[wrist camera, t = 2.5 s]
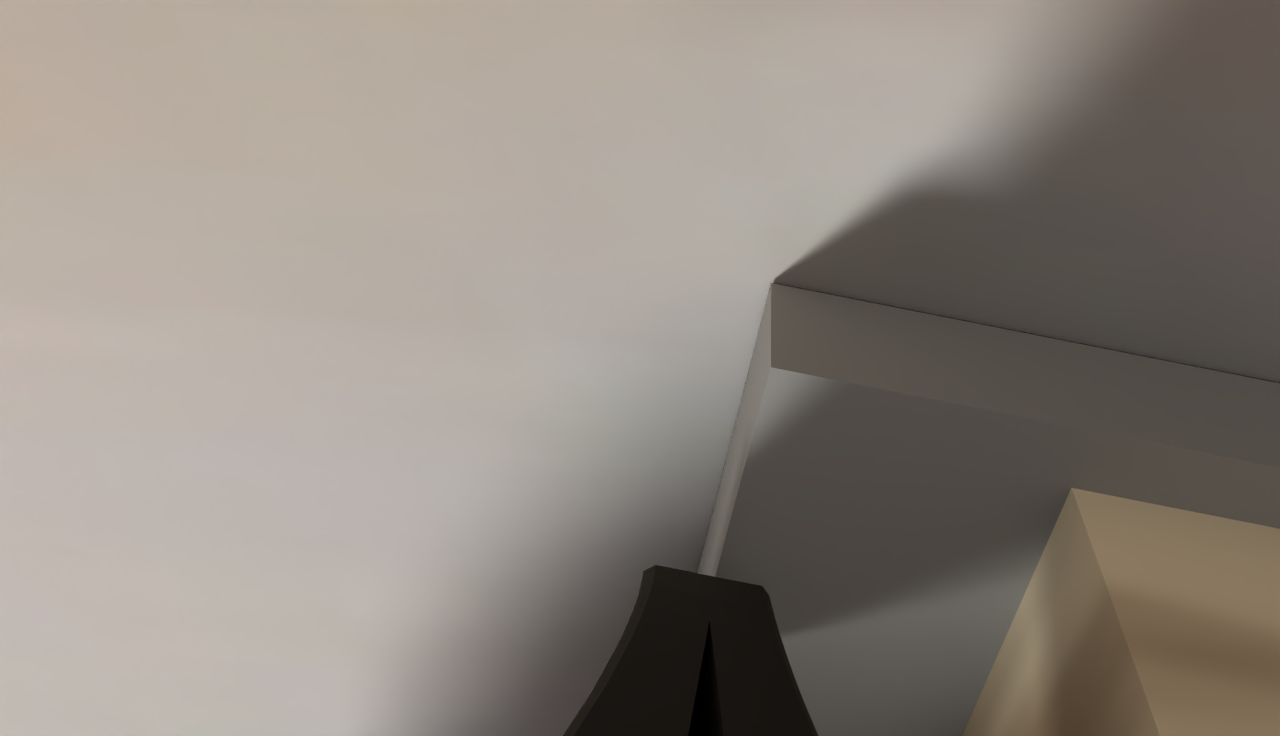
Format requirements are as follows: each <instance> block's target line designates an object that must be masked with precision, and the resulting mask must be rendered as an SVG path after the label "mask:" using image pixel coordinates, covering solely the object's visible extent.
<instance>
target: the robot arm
mask: <svg viewBox="0 0 1280 736" xmlns="http://www.w3.org/2000/svg"><path fill="white" fill-rule="evenodd" d="M563 736H818V734H817V731H816V729H815V727H814V724H813V722H812V719H811V717H810V715H809V712H808V710H807V708H806V705H805V703H804V700H803V698H802V695H801V693H800V690H799V688H798V685H797V682H796V680H795V677H794V674H793V671H792V668H791V666H790V663H789V660H788V657H787V654H786V651H785V648H784V645H783V642H782V639H781V636H780V633H779V630H778V626H777V623H776V619H775V616H774V612H773V608H772V604H771V600H770V596H769V594H768V593H767V592H766V590H765V589H764V587H763V586H760V585H755V584H750V583H745V582H740V581H735V580H729V579H724V578H719V577H714V576H709V575H704V574H698V573H693V572H688V571H683V570H678V569H673V568H667V567H662V566H657V565H655V566H653V567H651V568H649V569H647V570H645V571H644V573H643V578H642V582H641V587H640V591H639V596H638V599H637V602H636V605H635V607H634V610H633V613H632V615H631V617H630V620H629V622H628V624H627V626H626V629H625V631H624V633H623V635H622V637H621V639H620V641H619V644H618V646H617V648H616V649H615V651H614V653H613V655H612V657H611V658H610V660H609V662H608V664H607V666H606V667H605V669H604V671H603V673H602V675H601V677H600V678H599V680H598V682H597V684H596V686H595V687H594V689H593V691H592V692H591V694H590V696H589V697H588V699H587V700H586V702H585V703H584V705H583V706H582V708H581V709H580V711H579V713H578V714H577V716H576V717H575V719H574V720H573V722H572V723H571V725H570V726H569V728H568V729H567V731H566V732H565V734H564V735H563Z"/></svg>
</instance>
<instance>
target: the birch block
mask: <svg viewBox="0 0 1280 736" xmlns="http://www.w3.org/2000/svg"><path fill="white" fill-rule="evenodd" d="M962 736H1280V529H1279V528H1273V527H1268V526H1263V525H1258V524H1253V523H1248V522H1243V521H1238V520H1233V519H1228V518H1223V517H1218V516H1212V515H1207V514H1202V513H1197V512H1192V511H1187V510H1182V509H1177V508H1172V507H1167V506H1162V505H1157V504H1151V503H1146V502H1141V501H1136V500H1131V499H1126V498H1121V497H1116V496H1111V495H1106V494H1101V493H1096V492H1090V491H1085V490H1080V489H1075V488H1071V490H1070V492H1069V495H1068V497H1067V499H1066V501H1065V504H1064V506H1063V508H1062V511H1061V513H1060V515H1059V517H1058V520H1057V522H1056V524H1055V526H1054V529H1053V531H1052V533H1051V535H1050V538H1049V540H1048V542H1047V544H1046V547H1045V549H1044V551H1043V554H1042V556H1041V558H1040V560H1039V563H1038V565H1037V567H1036V569H1035V572H1034V574H1033V576H1032V578H1031V581H1030V583H1029V585H1028V587H1027V590H1026V592H1025V594H1024V597H1023V599H1022V601H1021V603H1020V606H1019V608H1018V610H1017V612H1016V615H1015V617H1014V619H1013V621H1012V624H1011V626H1010V628H1009V630H1008V633H1007V635H1006V637H1005V640H1004V642H1003V644H1002V646H1001V649H1000V651H999V653H998V655H997V658H996V660H995V662H994V664H993V667H992V669H991V671H990V673H989V676H988V678H987V680H986V683H985V685H984V687H983V689H982V692H981V694H980V696H979V698H978V701H977V703H976V705H975V707H974V710H973V712H972V714H971V716H970V719H969V721H968V723H967V726H966V728H965V730H964V732H963V735H962Z"/></svg>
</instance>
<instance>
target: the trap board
mask: <svg viewBox="0 0 1280 736" xmlns="http://www.w3.org/2000/svg"><path fill="white" fill-rule="evenodd" d="M1071 488H1075V489H1080V490H1085V491H1090V492H1096V493H1101V494H1106V495H1111V496H1116V497H1121V498H1126V499H1131V500H1136V501H1141V502H1146V503H1151V504H1157V505H1162V506H1167V507H1172V508H1177V509H1182V510H1187V511H1192V512H1197V513H1202V514H1207V515H1212V516H1218V517H1223V518H1228V519H1233V520H1238V521H1243V522H1248V523H1253V524H1258V525H1263V526H1268V527H1273V528H1279V529H1280V383H1275V382H1270V381H1265V380H1260V379H1255V378H1250V377H1245V376H1240V375H1235V374H1230V373H1225V372H1220V371H1214V370H1209V369H1204V368H1199V367H1194V366H1189V365H1184V364H1179V363H1174V362H1169V361H1164V360H1159V359H1154V358H1149V357H1144V356H1139V355H1133V354H1128V353H1123V352H1118V351H1113V350H1108V349H1103V348H1098V347H1093V346H1088V345H1083V344H1078V343H1073V342H1068V341H1063V340H1058V339H1052V338H1047V337H1042V336H1037V335H1032V334H1027V333H1022V332H1017V331H1012V330H1007V329H1002V328H997V327H992V326H987V325H982V324H977V323H971V322H966V321H961V320H956V319H951V318H946V317H941V316H936V315H931V314H926V313H921V312H916V311H911V310H906V309H901V308H895V307H890V306H885V305H880V304H875V303H870V302H865V301H860V300H855V299H850V298H845V297H840V296H835V295H830V294H825V293H820V292H814V291H809V290H804V289H799V288H794V287H789V286H784V285H779V284H774V283H771V285H770V289H769V293H768V297H767V301H766V305H765V309H764V313H763V317H762V321H761V325H760V329H759V332H758V336H757V340H756V344H755V348H754V352H753V356H752V360H751V364H750V368H749V372H748V376H747V379H746V383H745V387H744V391H743V395H742V399H741V403H740V407H739V411H738V415H737V419H736V423H735V426H734V430H733V434H732V438H731V442H730V446H729V450H728V454H727V458H726V462H725V466H724V470H723V473H722V477H721V481H720V485H719V489H718V493H717V497H716V501H715V505H714V509H713V513H712V517H711V520H710V524H709V528H708V532H707V536H706V540H705V544H704V548H703V552H702V556H701V560H700V564H699V567H698V571H697V573H698V574H704V575H709V576H714V577H719V578H724V579H729V580H735V581H740V582H745V583H750V584H755V585H760V586H763V587H764V589H765V590H766V592H767V593H768V594H769V596H770V600H771V604H772V608H773V612H774V616H775V619H776V623H777V626H778V630H779V633H780V636H781V639H782V642H783V645H784V648H785V651H786V654H787V657H788V660H789V663H790V666H791V668H792V671H793V674H794V677H795V680H796V682H797V685H798V688H799V690H800V693H801V695H802V698H803V700H804V703H805V705H806V708H807V710H808V712H809V715H810V717H811V719H812V722H813V724H814V727H815V729H816V731H817V734H818V736H962V735H963V732H964V730H965V728H966V726H967V723H968V721H969V719H970V716H971V714H972V712H973V710H974V707H975V705H976V703H977V701H978V698H979V696H980V694H981V692H982V689H983V687H984V685H985V683H986V680H987V678H988V676H989V673H990V671H991V669H992V667H993V664H994V662H995V660H996V658H997V655H998V653H999V651H1000V649H1001V646H1002V644H1003V642H1004V640H1005V637H1006V635H1007V633H1008V630H1009V628H1010V626H1011V624H1012V621H1013V619H1014V617H1015V615H1016V612H1017V610H1018V608H1019V606H1020V603H1021V601H1022V599H1023V597H1024V594H1025V592H1026V590H1027V587H1028V585H1029V583H1030V581H1031V578H1032V576H1033V574H1034V572H1035V569H1036V567H1037V565H1038V563H1039V560H1040V558H1041V556H1042V554H1043V551H1044V549H1045V547H1046V544H1047V542H1048V540H1049V538H1050V535H1051V533H1052V531H1053V529H1054V526H1055V524H1056V522H1057V520H1058V517H1059V515H1060V513H1061V511H1062V508H1063V506H1064V504H1065V501H1066V499H1067V497H1068V495H1069V492H1070V490H1071Z"/></svg>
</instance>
